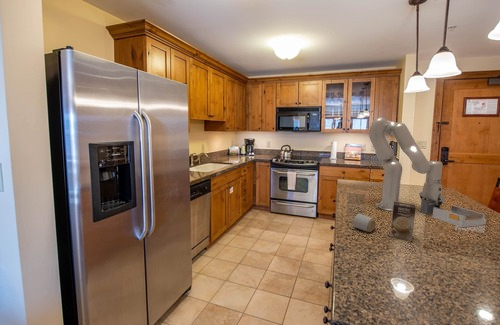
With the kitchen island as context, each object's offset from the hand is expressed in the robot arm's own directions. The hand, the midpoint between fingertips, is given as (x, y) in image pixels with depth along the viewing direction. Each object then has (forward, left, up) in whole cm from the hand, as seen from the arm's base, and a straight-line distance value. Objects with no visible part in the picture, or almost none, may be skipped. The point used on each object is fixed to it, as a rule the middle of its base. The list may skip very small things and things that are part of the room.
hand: (430, 208), depth 160 cm
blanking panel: (0, 0, -3) cm, 3 cm away
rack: (+2, -15, -2) cm, 15 cm away
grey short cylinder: (-58, -13, -3) cm, 60 cm away
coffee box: (-48, -25, -3) cm, 54 cm away
